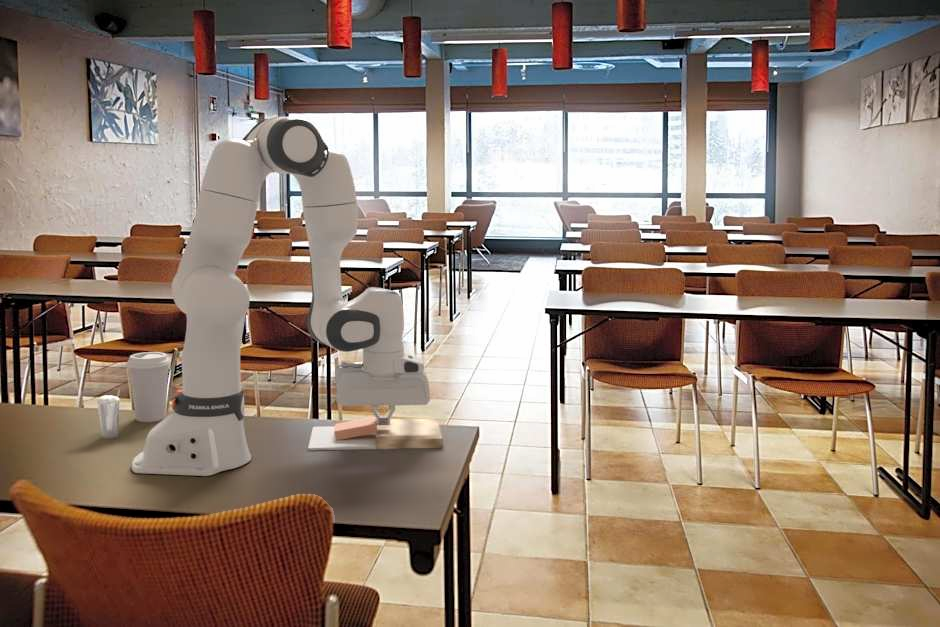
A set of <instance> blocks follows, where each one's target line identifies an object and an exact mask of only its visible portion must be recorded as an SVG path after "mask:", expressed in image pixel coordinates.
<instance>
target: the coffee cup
mask: <svg viewBox="0 0 940 627" xmlns="http://www.w3.org/2000/svg"><path fill="white" fill-rule="evenodd" d="M170 365H171V359H170V358H169V357H168V355H167V353H165V352H161V351H148V352H138V353H133V354H131V355H129V358H128V360H127V363H126V367H127V368H128V372H129V377H130V385H131V391H132V399H133V407H134V415H135V420H136V421H137V422H140V423H155V422H161V421H162V420H164V419H165V418H166V417H167V416H166V414H167V393H168V379H169V378H168V377H169V366H170Z"/></svg>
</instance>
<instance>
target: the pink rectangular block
mask: <svg viewBox="0 0 940 627" xmlns="http://www.w3.org/2000/svg"><path fill="white" fill-rule="evenodd" d="M376 419H377V418H376V417H375V416H371V417H365V418H360V419H354V420H349V421H344V422H337V423H335V425H334V426H335V428H334V434H335V439H336V440H341V439H346V438H352V437H357V436H362V435H368V434H373V433H377V421H376Z"/></svg>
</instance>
